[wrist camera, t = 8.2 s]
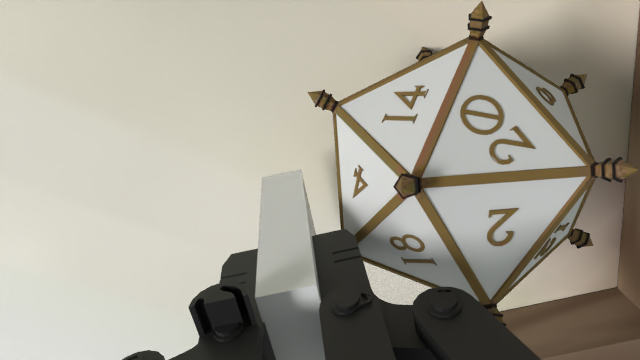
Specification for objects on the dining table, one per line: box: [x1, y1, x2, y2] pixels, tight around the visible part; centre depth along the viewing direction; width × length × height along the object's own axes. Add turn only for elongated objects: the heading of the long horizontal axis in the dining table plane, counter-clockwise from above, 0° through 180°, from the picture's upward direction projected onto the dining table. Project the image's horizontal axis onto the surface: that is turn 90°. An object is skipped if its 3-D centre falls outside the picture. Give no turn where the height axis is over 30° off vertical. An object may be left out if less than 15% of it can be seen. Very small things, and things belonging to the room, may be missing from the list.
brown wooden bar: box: [500, 11, 640, 360], centre depth 17 cm, size 21×18×3 cm
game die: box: [308, 1, 638, 326], centre depth 15 cm, size 9×8×10 cm
